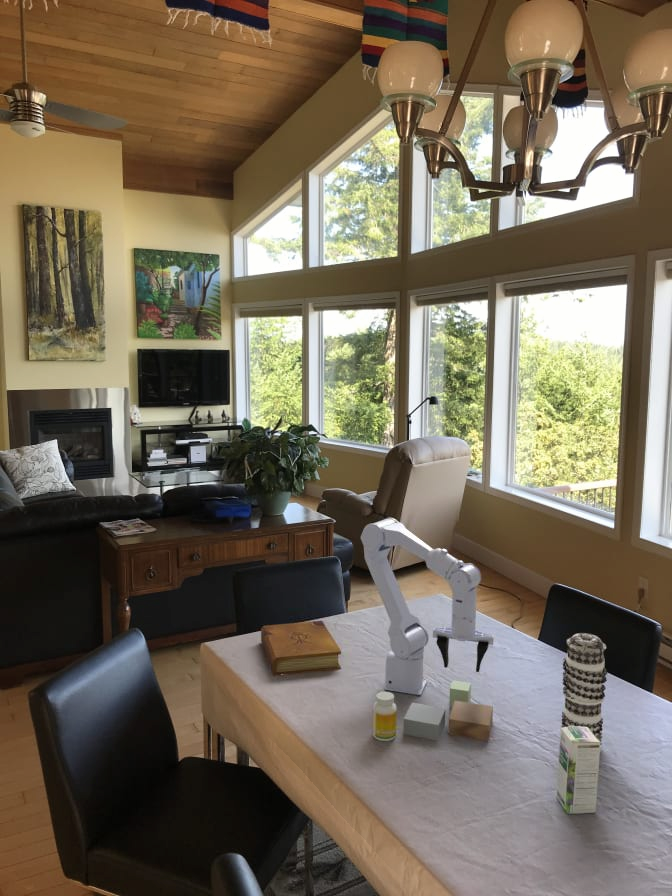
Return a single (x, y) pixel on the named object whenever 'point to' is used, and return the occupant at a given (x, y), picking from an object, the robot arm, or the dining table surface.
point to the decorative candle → (584, 683)
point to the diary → (300, 647)
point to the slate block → (424, 721)
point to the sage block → (459, 692)
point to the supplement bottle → (384, 717)
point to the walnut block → (470, 720)
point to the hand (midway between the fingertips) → (461, 668)
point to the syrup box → (578, 770)
